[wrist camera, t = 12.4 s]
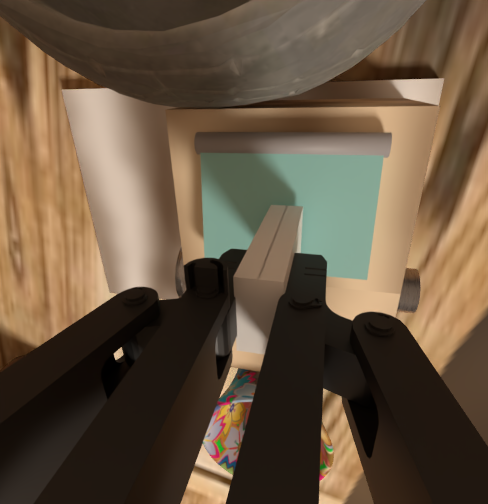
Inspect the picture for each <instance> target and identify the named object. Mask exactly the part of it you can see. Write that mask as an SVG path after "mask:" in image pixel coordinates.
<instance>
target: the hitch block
mask: <svg viewBox="0 0 488 504" xmlns="http://www.w3.org/2000/svg"><path fill="white" fill-rule="evenodd" d="M443 82H444V78H441V79H407V80H373V81H339V82H325V83H323V84H321V85H319V86H317V87H315V88H312V89H310V90H308V91H306V92H304V93H302V94H299V95H294V96H289V97H284V98H278V99H273V100H268V101H263V102H257V103H252V104H247V105H239V106H230V107H221V108H210V107H205V108H192V107H169V106H163V105H156V104H152V103H147V102H144V101H141V100H138V99H135V98H131V97H128V96H125V95H122V94H119V93H117V92H115V91H113V90H111V89H109V88H100V89H66V90H62V93H63V98H64V102H65V106H66V110H67V115H68V119H69V123H70V127H71V131H72V136H73V140H74V144H75V148H76V152H77V157H78V161H79V165H80V169H81V173H82V178H83V182H84V186H85V190H86V194H87V199H88V203H89V207H90V211H91V215H92V220H93V224H94V228H95V232H96V236H97V241H98V245H99V249H100V253H101V257H102V262H103V266H104V270H105V274H106V278H107V283H108V287H109V291H110V293H117V294H119V293H121V292H123V291H125V290H127V289H130V288H133V287H149V288H152V289H154V290H156V291H157V293H158V296H159V298H160V299H177V298H179V296H178V294H177V291H176V285H175V268H176V262H177V257H178V254H179V251H180V248H181V247H182V255H183V264H184V265H185V264H187V263H188V262H190V261H192V260H195V259H199V258H204V234H203V208H202V182H201V157H200V154H197V153H196V151H195V146H194V139H195V134H196V133H197V132H391V133H392V144H391V150H390V154H389V157H388V158H383V166H382V173H381V181H380V188H379V196H378V203H377V211H376V218H375V226H374V233H373V240H372V248H371V255H370V263H369V270H368V278H367V280H361V279H350V278H339V277H328V276H327V279H326V304H327V306H328V307H329V308H330V309H331V310H332V311H333V312H334V313H336V314H338V315H339V316H342V317H344V318H347V319H350V320H353V319H354V318H355V316H357V315H359V314H361V313H364V312H381V313H385V314H388V315H391V316H393V317H395V318H396V313H397V308H398V304H399V299H400V294H401V289H402V285H403V280H404V275H405V270H406V266H407V261H408V256H409V251H410V247H411V242H412V237H413V233H414V228H415V223H416V218H417V214H418V209H419V204H420V199H421V195H422V190H423V185H424V181H425V176H426V171H427V166H428V162H429V157H430V152H431V147H432V143H433V138H434V133H435V128H436V124H437V119H438V114H439V110H440V106H439V101H440V96H441V91H442V86H443ZM232 354H233V358H232V364H231V367H234V368H240V369H246V370H253V371H259V372H260V370H261V366H262V362H263V358H264V354H257V353H251V352H244V351H237V348H236V339H235V342H234V345H233V347H232Z"/></svg>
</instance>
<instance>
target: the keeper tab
mask: <svg viewBox="0 0 488 504" xmlns="http://www.w3.org/2000/svg"><path fill="white" fill-rule="evenodd" d="M391 144H392V133H391V132H197V133H196V134H195V139H194V146H195V151H196V153H197V154H200V157H201V182H202V208H203V234H204V258H217V259H219V258H220V256H221V255H222V254H223V253H224V252H226V251H228V250H229V249H243V250H248V248H249V246H250V244H251V242H252V240H253V238H254V236H255V234H256V233H257V231H258V229H259V227H260V225H261V223H262V221H263V219H264V217H265V215H266V213H267V212H268V210H269V208H270V206H271V205H286V206H303V218H302V237H301V253H305V254H317V255H322V256H323V257H324V258H325V260H326V261H327V276H328V277H339V278H350V279H361V280H367V278H368V270H369V263H370V255H371V248H372V240H373V233H374V226H375V218H376V211H377V203H378V196H379V188H380V181H381V173H382V166H383V158H388V157H389V154H390V150H391Z"/></svg>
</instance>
